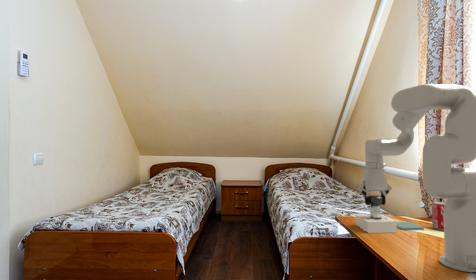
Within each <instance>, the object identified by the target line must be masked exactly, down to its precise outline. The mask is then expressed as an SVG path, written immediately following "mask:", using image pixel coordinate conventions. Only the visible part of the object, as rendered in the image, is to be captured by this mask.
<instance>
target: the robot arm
mask: <svg viewBox="0 0 476 280" xmlns="http://www.w3.org/2000/svg"><path fill="white" fill-rule="evenodd" d="M390 104H391V109H392V110H394V112H396V113H395V115H394V116H393V118H392V121H391V122H392V124H393V126H394V127H395V128H396V129H397V130H399V131H400V134H399V135H398V136H397V137H396V138H378V139H368V140H366V141H365V143H364V144H365V145H364V146H365V149H364V152H365V156H364V157H365V168H363V171H362V179H361V184H360V185H359V186H358V187H357V190H358V191H359V192H360V193H361V194H362V195H363V197H364V204H365V205H367V206H370V197H369V195H370V193H371V192H377V191H378V192H379V193H380V194H379V196H383V203H382V204H381V205H382V206H385V205H386V202H387V201H386V197H387V196H388V194H389V193H390V192H391V191H392V189H393V187H392V186H391V185H390V184H389V183H388V180H387V179H388V178H387V174H386V170H385V168H384V167H386V166H387V164H386V163H384V157H387V156H389V157H390V156H392V157H393V156H394V157H395V156H400V155H403V154H405V152H406V151H407V150H408V149H409V148H410V147H411V146H412V144H413V142H414V138H415V131H414V129H415V128H416V126H417V125H418V123H419V122H420V121H421V120H422V119H423V117H424V116H425V115H426V113H427V112H428V111H429V110H448V111H449V113H448V114H447V116H446V117H445V121H444V134H443V133H440V134H435V135H432V136H430V137H429V138H427V140H426V141H425V143H424V144H423V146H422V147H423V148H422V184H423V188H424V190H425V191H426V193H427V194H428V195H429V196H430V197H432V198H434V199H446V200H445V201H444V202H445V205H444V230H443V239H444V240H443V242H444V244H443V245H444V246H443V247H444V251H443V252H444V254H442V255H440V256H439V257H438V261H439V262H440V263H441V265H442V266H445V267H447V268H450V269H453V270H456V271H460V272H465V273H472V272H476V170H475V169H472V168H470V167H452V165H453V164H454V165H458V164H466V163H471V162H473V161H475V159H476V92H475V91H474V90H473V89H472V88H470V87H467V86H464V85H459V84H448V83H447V84H445V83H444V84H441V83H440V84H438V83H435V84H434V83H426V84H419V85H416V86H412V87H408V88H404V89H401V90H398V91H397V92H396V93H394V94H393V96H392V99H391V103H390Z"/></svg>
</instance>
